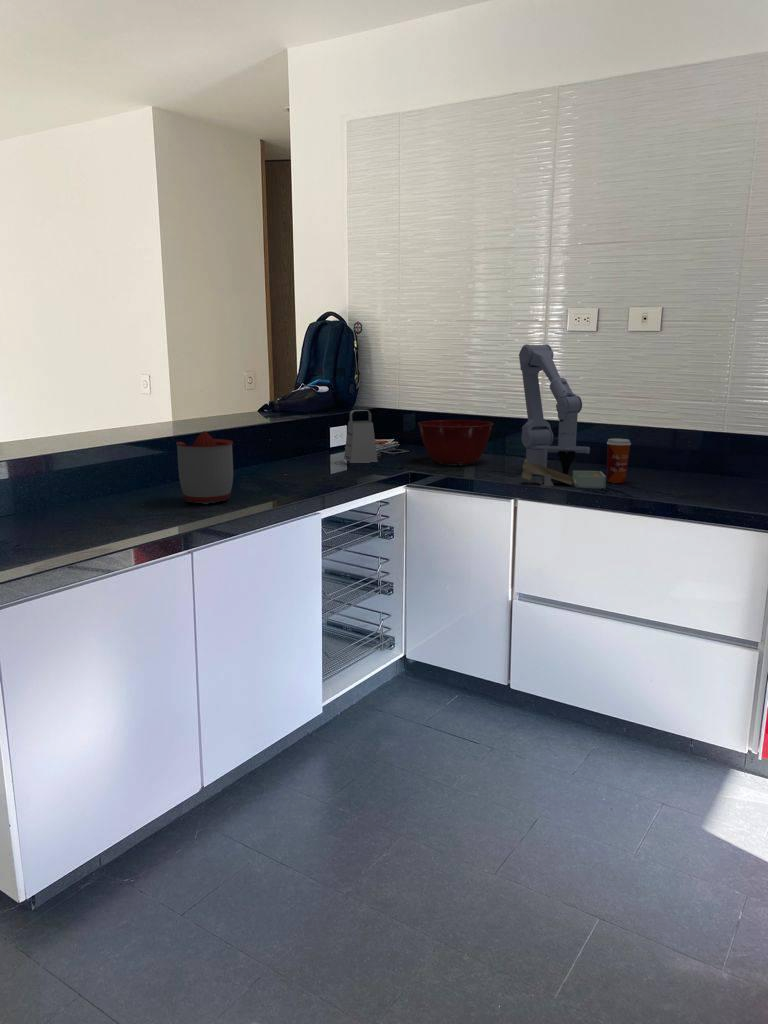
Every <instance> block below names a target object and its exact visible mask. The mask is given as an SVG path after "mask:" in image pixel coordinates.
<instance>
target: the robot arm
mask: <svg viewBox="0 0 768 1024" xmlns="http://www.w3.org/2000/svg"><path fill="white" fill-rule="evenodd" d="M518 353H519V354H518V359H519V366H520V368H519V369H520V371H521V374H522V383H523V384H522V385H523V391H524V397H525V398H524V399H525V406H526V414H527V422H526V423H524V424H523V426H522V427H521V429H522V431H521V442H522V444H523V447H524V448H525V449H526V451H525V452H526V453H525V460H527V462H530V463H533V464H536V465H539V466H542V467H545V468H548V467H547V466H548V453H557V455H558V458H559V461H560V465H561V469H562V473H564V474H567V475H569V470H570V467H571V465H572V462H573V461H574V459H575V457H576V454H577V453H578V454H590V452H591V447H590V446H580V445H579V446H578V445H577V433H578V432H577V429H578V414H579V413H581V411H582V409H583V402H582V399H581V397H580V396H579V395H576V393H573V390H572V389H571V387H570V385H569V383H568V381H567V379H565V378H564V377H561V376H560V373H559V371H558V369H557V368H558V367H557V366H556V364H555V361H554V351H553V348H552V347H551V345H549V344H524V345H523V346H522V347H521V348H520V351H519V352H518ZM541 371H543V374H545V377H546V378H547V379H548V380H549V382H550V384H549V389H550V392H551V394H552V395H553V397H554V399H555V401H556V402H557V403H556V404H555V409H556V412H557V419H558V435H557V437H558V439H557V445H553V441H554V433H553V430H552V429H551V424H550V423H549V422H548V420H546V419H545V418H544V412H543V404H542V396H541V390H540V389H541V387H540V381H539V373H540V372H541ZM533 475H535V476H536V475H538V476H539V475H540V474H537V473H534V472H533ZM540 476H541V475H540Z"/></svg>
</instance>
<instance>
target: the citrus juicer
mask: <svg viewBox="0 0 768 1024" xmlns="http://www.w3.org/2000/svg"><path fill="white" fill-rule="evenodd" d="M175 444H176V450H177V466H178V469H177V470H178V478H179V484H180V488H181V491H182V494H183V496H184V499H185V500H188V501H192V502H209V501H219V500H223V499H227V498H230V496H231V492H232V488H233V483H234V459H233V458H234V457H233V444H234V441H233V440H230V439H222V438H213V437H212V436H211V435H210V434H209V433H208V432H207V431H205V430H204V431H202V432H201V433H200V434H198V436H197V437H196V438H195V440H194V441H193V443H192V445H186V443H185V442H183V441H176V443H175Z"/></svg>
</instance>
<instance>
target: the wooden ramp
mask: <svg viewBox="0 0 768 1024" xmlns="http://www.w3.org/2000/svg"><path fill="white" fill-rule="evenodd" d="M522 469H523V470H522V472H521V475H520V476H521V478H522V479H525V480H529V481H531V479H532V477H533V475H534V474H533V472H534V473H537V474H540V476H542V477H543V476H545V474H551V480H555V481H559V482H561V483H565V484H566V485H569V486H572V484H573V480H574V479H572V475H570V474H568V475H567V474H564V473H563V472H560V471H557V470H554V469H551V468H548V467H547V468H545V467H542V466H539V465H536V464H533V463H530V462H527V460H526V459H524V460H523V464H522Z"/></svg>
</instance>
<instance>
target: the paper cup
mask: <svg viewBox="0 0 768 1024" xmlns="http://www.w3.org/2000/svg"><path fill="white" fill-rule="evenodd" d="M606 445H607V447H606V451H607V453H606V456H607V457H606V482H607V481H608V482H612V483H611V484H614V483H623V484H625V482H626V477H627V471H628V464H629V455H630V449H631V448H630V447H631V445H632V443H631V441H630V439H627V438H608V439H607V442H606ZM608 482H607V483H608Z"/></svg>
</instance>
